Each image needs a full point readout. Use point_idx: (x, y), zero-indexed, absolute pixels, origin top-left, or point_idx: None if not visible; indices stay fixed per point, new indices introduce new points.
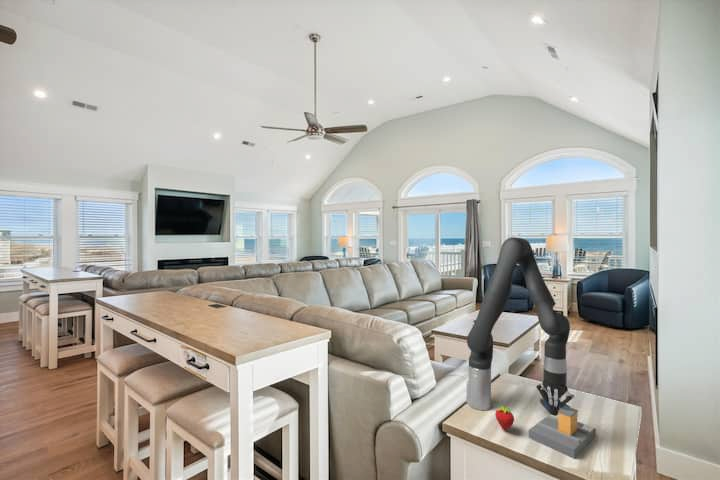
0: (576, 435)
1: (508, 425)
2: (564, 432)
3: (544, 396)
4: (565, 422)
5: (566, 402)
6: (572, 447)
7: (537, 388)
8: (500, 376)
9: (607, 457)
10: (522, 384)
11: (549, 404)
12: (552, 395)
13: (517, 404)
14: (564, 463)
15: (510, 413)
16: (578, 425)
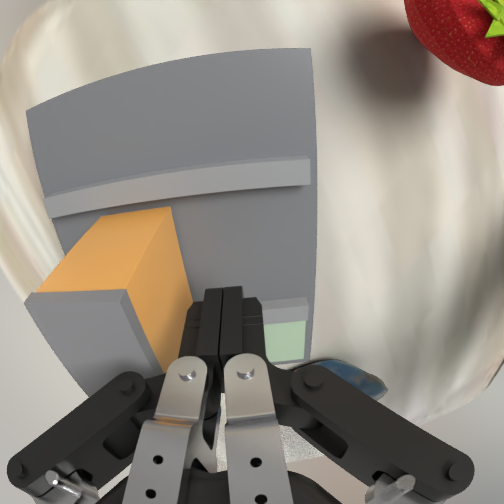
0: None
1: None
2: (129, 214)
3: (338, 411)
4: (93, 253)
5: (59, 424)
6: (37, 120)
7: (453, 452)
8: (487, 384)
9: (25, 244)
10: (439, 403)
11: None
12: (226, 472)
13: (448, 315)
14: (60, 30)
15: (471, 21)
16: None
